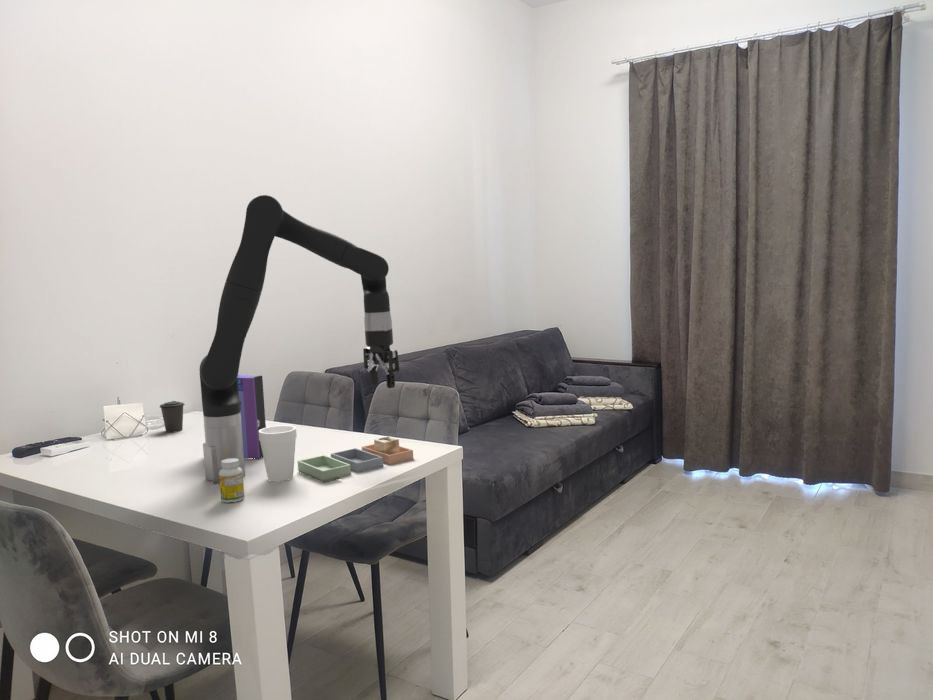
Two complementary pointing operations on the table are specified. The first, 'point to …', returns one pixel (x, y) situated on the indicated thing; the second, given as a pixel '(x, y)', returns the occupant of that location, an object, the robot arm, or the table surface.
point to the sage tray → (324, 468)
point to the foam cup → (278, 451)
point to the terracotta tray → (391, 459)
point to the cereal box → (251, 413)
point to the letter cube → (387, 445)
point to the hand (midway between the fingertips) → (382, 386)
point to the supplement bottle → (231, 481)
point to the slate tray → (358, 459)
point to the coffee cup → (172, 415)
